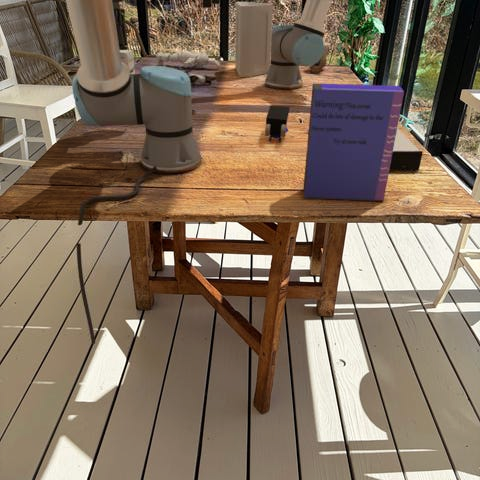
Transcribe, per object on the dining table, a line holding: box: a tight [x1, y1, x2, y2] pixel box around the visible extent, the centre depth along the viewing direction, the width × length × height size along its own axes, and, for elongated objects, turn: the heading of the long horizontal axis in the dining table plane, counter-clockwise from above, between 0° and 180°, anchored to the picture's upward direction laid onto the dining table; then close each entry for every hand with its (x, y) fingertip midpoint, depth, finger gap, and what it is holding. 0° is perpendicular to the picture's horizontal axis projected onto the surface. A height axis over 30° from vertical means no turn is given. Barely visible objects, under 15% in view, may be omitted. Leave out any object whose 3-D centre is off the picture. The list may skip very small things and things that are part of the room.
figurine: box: [162, 63, 218, 85], centre depth 194 cm, size 24×8×30 cm
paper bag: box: [234, 1, 274, 78], centre depth 210 cm, size 19×15×28 cm
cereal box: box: [302, 83, 405, 202], centre depth 102 cm, size 17×5×24 cm, turn 86°
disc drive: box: [389, 127, 424, 172], centre depth 128 cm, size 18×22×5 cm
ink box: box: [120, 49, 136, 74], centre depth 138 cm, size 8×5×12 cm, turn 80°
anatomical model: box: [308, 44, 329, 74], centre depth 220 cm, size 13×9×15 cm
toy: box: [155, 50, 221, 69], centre depth 223 cm, size 24×25×7 cm
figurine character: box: [264, 105, 290, 143], centre depth 140 cm, size 7×8×15 cm
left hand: (118, 75), depth 138 cm, fingers closed on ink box, 5 cm apart
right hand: (211, 5), depth 159 cm, fingers open, 13 cm apart
